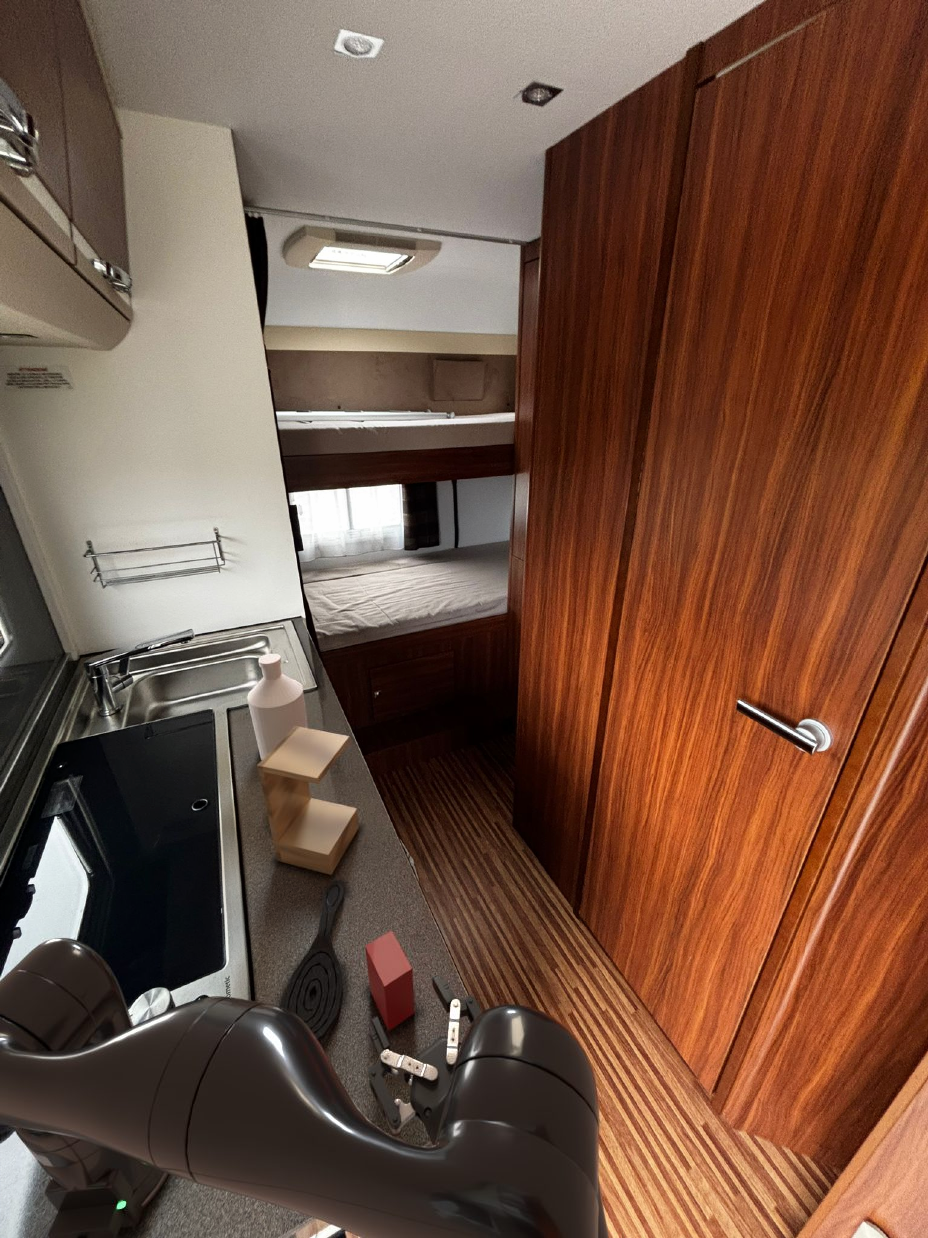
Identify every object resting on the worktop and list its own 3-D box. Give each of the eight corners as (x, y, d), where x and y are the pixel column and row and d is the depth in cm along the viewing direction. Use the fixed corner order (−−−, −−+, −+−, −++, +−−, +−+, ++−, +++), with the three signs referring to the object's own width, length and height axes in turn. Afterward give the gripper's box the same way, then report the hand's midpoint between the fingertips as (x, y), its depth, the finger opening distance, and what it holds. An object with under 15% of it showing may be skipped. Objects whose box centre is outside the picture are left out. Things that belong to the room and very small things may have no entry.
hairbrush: (360, 871, 85) (329, 1041, 61) (362, 887, 86) (331, 1058, 63) (312, 873, 84) (261, 1043, 61) (314, 888, 86) (266, 1061, 62)
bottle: (257, 741, 120) (238, 651, 110) (307, 729, 125) (294, 642, 114) (261, 772, 110) (241, 677, 100) (315, 758, 115) (301, 665, 105)
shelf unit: (331, 875, 87) (317, 778, 78) (277, 860, 90) (257, 765, 81) (359, 827, 97) (349, 736, 88) (309, 815, 99) (294, 725, 90)
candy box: (395, 974, 72) (391, 930, 68) (414, 1012, 68) (412, 968, 64) (370, 990, 70) (364, 946, 66) (388, 1031, 66) (384, 987, 62)
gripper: (534, 1081, 52) (452, 949, 64) (416, 1190, 45) (349, 1019, 57) (530, 1116, 55) (452, 984, 67) (418, 1223, 48) (354, 1054, 60)
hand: (405, 1000), depth 62 cm, fingers open, 8 cm apart
